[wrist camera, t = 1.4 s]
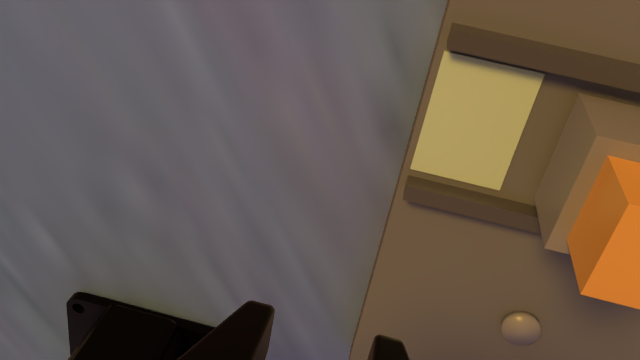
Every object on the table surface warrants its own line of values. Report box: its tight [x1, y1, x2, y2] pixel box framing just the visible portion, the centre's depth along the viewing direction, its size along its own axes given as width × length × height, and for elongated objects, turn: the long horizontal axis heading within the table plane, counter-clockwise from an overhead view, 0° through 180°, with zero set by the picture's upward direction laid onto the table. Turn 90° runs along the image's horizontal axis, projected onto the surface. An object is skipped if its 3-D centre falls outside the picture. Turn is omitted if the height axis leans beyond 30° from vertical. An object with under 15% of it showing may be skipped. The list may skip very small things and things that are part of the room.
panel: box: [349, 0, 640, 360], centre depth 17 cm, size 20×10×2 cm, turn 170°
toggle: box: [534, 93, 640, 309], centre depth 14 cm, size 3×3×4 cm
